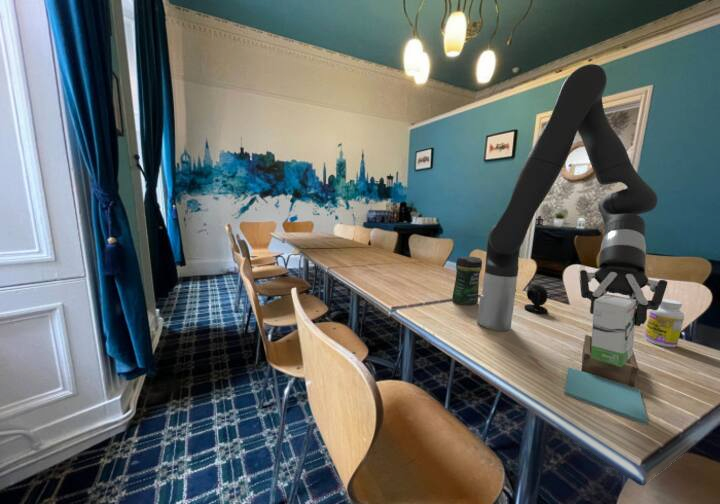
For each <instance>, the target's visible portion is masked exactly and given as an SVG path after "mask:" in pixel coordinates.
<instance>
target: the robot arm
mask: <svg viewBox="0 0 720 504" xmlns="http://www.w3.org/2000/svg"><path fill="white" fill-rule="evenodd" d="M607 78H608V77H607V74H606V71H605V70H604V68H603V67H602V66H600V65H598V64H596V63H595V64H594V63H592V64H585V65H583V66H579V68H577V69H575V70H573V72H572V73H570V74H569V75H568V76H567V78H566V79H565V80H564V82H563V83H562V86H561V89H560V91H559V94H558V96H557V98H556V101H555V104H554V107H553V109H552V111H551V114H550V116H549V118H548V121H547V122H546V125H545V126H544V128H543V130H542V131H541V133H540V135H539V136H538V138H537V139H536V142H535V143H534V145H533V146H532V149H531V150H530V151H529V154H528V156H527V157H526V160H525V162H524V164H523V165H522V168H520V169H521V170H519V171H520V172H519V173H518V176H517V178H516V181H515V184H514V188H513V190H512V193H511V197H510V200H509V202H508V205H507V207H506V208H505V210H504V212H503V213H502V214H501V217H500V218H499V220H498V221H497V223H496V224H494V225H493V226H492V227H491V229H490V230H489V231H488V236H487V237H488V238H487V244H486V246H487V247H486V255H485V263H484V264H485V267H484V275H483V276H484V278H483V285H482V294H480V296H479V301H478V302H479V304H478V312H477V322H476V323H477V324H478V325H480V326H482V327H484V328H486V329H489V330H493V331H499V332H505V331H510V330H511V328H512V321H513V313H514V305H515V299H516V298H515V297H516V292H517V291H516V290H517V289H516V288H517V283H518V276H519V255H520V250H521V249H520V248H521V247H522V245H523V243H524V242H525V238H526V236H527V234H528V230H529V227H530V225H531V223H532V221H533V218H534V217H535V214H536V212H537V211H538V209H539V207H540V206H541V205H542V203H543V202H544V200H545V199H546V198H547V195H548V194H549V192H550V190H551V189H552V187H553V186H554V184H555V183H556V180H557V179H558V178H559V177H558V176H559V175H560V173H561V171H562V169H563V167H564V165H565V164H566V161H567V160H568V157H569V155H570V152H571V149H572V146H573V144H574V140H575V139H576V136H577V133H578V134H579V136H580V139H581V141H582V144H583V146H584V149H585V152H586V155H587V157H588V160H589V162H590V165H591V168H592V171H593V173H594V175H595V179H596V181H597V182H598V184H600V185H603V186H605V185H607V186H608V185H612V184H617V183H621V184H623V185H625V186H626V188H623V189H621V190H618V191H614V192H611V193H608V194H607V195H604V196H603V197H602V198H601V199H600V200H599V202H598V205H597V206H598V211H599V213H600V215H601V218H602V221H603V226H604V229H603V237H602V240H601V245H600V249H599V258H598V267H597V270H595V272H589V271H588V272H587V270H585V269H581V270H579V286H580V287H579V288H580V296H581V298H583V299H588V300H589V301H590V308H589V313H590V314H591V315H593V310H594V301H595V299H597V298H600V297H602V296H603V295H605V294H607V293H609V294H610V293H611V294H619V295H623V296H628V298H631V299H636V311H635V325H634V327H635V326H636V327H641V325H644V324H645V323H646V321H647V320H648V318H647V317H648V310H651V309H652V310H658V308H659V306H660V304H661V302H662V299H664V297H665V296H664V295H665V292H666V288H667V287H668V286H667V285H668V281H667V280H664V279H660V280H659V281H657V280H653V279H649V277H648V276H647V275H646V253H647V244H646V239H645V238H646V237H645V236H646V223H645V220H644V218H643V217H641V216H640V215H641V214H647V213H649V212H651V211H653V210H654V209H655V208H656V206H657V205H658V196H657V194H656V192H655V191H654V190H653V188H651V187H650V186H649V184H648V183H647V182H646V181H645V180H643V178H642V177H641V176H640V175H639V173H638V172H637V171H636V169H635V168H634V166H633V164H632V161H631V158H630V157H629V154H628V152H627V148H626V147H625V145H624V144H623V141H622V140H621V138H620V137H619V135H618V134H617V133H616V131H615V130H614V129H613V127H612V125H611V123H609V120H608V118H607V115H606V113H605V109H604V104H603V97H602V96H603V94H604V92H605V89H606V86H607ZM593 279H595V280H596V282H597V283H598V285H597V288H596V289H595V290H594V291H592V290H590V284H589V283H590V282H592V280H593ZM645 286H648V287H649V291H650V292H652V293H653V295H652V298H651V300H650V299H649V300H647V298H646V297H645V295H644V291H643V290H642V289H643V288H644V287H645Z"/></svg>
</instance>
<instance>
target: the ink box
mask: <svg viewBox="0 0 720 504" xmlns="http://www.w3.org/2000/svg"><path fill="white" fill-rule="evenodd" d="M635 311H636V299H631V298H630V297H624V296H621V295H615V294H610V293H609V294H607V293H606V294H605V295H603V296H602V297H600V298H597V299H595V301H594V310H593V314H592V328H591V329H592V331H591V336H592V343H591V358H593V359H596V360H599V361H603V362H606V363H610V364H613V365H616V366H619V367H622V366H623V365H624V364H625V363H626V362H627V360H628V359H629V358H630V357H631V356H632V354H633V352H634V340H635V339H634V336H635V335H634V334H635Z"/></svg>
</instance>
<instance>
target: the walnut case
mask: <svg viewBox="0 0 720 504" xmlns="http://www.w3.org/2000/svg"><path fill="white" fill-rule="evenodd" d="M583 341H584V342H583V347H582V358H581V371H583V372H586V373H589V374H592V375H595V376H599V377H602V378H605V379H608V380H611V381H614V382H618V383H621V384H624V385H627V386H630V387H634V388H636V387H635V386H636V382H637V377H638V372H639V365H638V362H637V359H636V355H635V352H634V351H633V354H632V356H631V357H630V358H629V359H628V360H627V362H626V363H625V364H624V365H623V366H622V367H619V366H616V365H613V364H610V363H606V362H603V361H599V360H596V359H593V358H591V343H592V335H589V334H585V336H584V340H583Z"/></svg>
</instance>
